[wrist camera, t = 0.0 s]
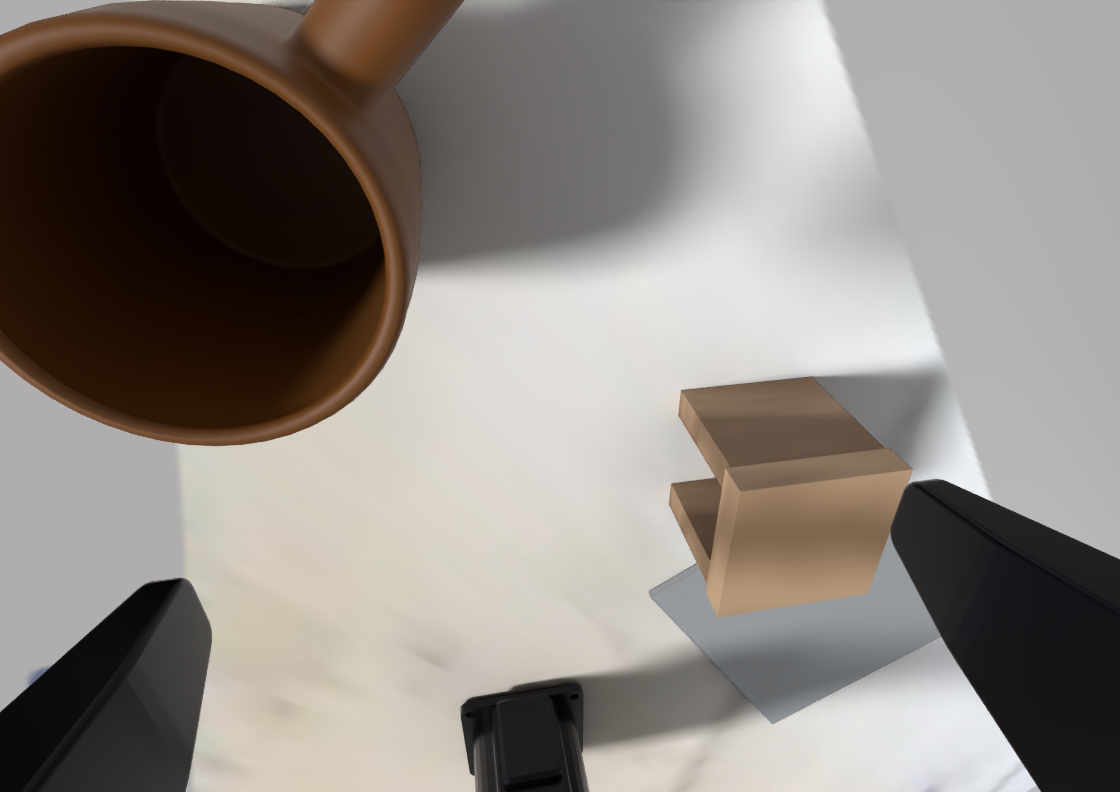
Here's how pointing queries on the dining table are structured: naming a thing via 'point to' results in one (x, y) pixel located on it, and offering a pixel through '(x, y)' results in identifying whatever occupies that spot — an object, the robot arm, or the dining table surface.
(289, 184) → the mug
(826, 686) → the mat
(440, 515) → the dining table surface
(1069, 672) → the robot arm
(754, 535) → the stool
